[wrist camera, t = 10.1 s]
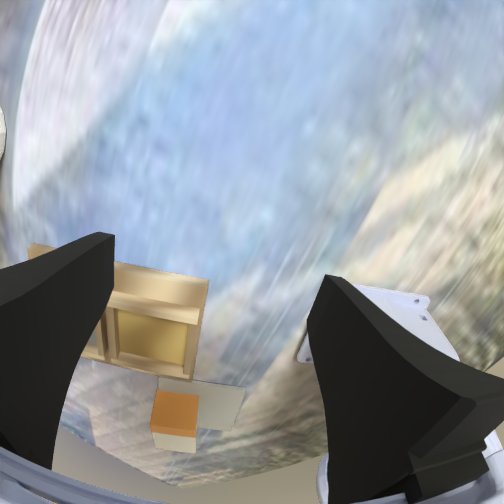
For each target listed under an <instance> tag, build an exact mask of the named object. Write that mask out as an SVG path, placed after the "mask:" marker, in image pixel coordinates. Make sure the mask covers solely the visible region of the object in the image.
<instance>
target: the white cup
mask: <svg viewBox="0 0 504 504" xmlns="http://www.w3.org/2000/svg"><path fill="white" fill-rule="evenodd" d="M5 138H6V126H5V120H4V113H3V111H2V109H1V107H0V160H1V157H2V155H3V153H4V147H5Z"/></svg>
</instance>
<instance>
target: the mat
mask: <svg viewBox="0 0 504 504" xmlns="http://www.w3.org/2000/svg"><path fill="white" fill-rule="evenodd" d="M158 391H164V392H172V393H179V394H188V395H197V396H199V411H198V427H199V428H206V429H214V430H222V431H231V429H232V427H233V424H234V421H235V419H236V416H237V414H238V411H239V409H240V406H241V403H242V401H243V398H244V395H245V393H246V387H237V386H229V385H222V384H215V383H208V382H201V381H195V380H192V382H191V381H185V380H179V379H174V378H169V377H163V376H159V377H158Z"/></svg>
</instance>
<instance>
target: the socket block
mask: <svg viewBox="0 0 504 504" xmlns="http://www.w3.org/2000/svg"><path fill="white" fill-rule="evenodd" d="M55 249H57V248H53V247H48V246H44V245H40V244H36V243H34V244H32V245H31V246H30V247H29V248H28V249H27V250H28V258H29V260H30V259H33V258H35V257H38V256H40V255H42V254H45V253H47V252H50V251H52V250H55ZM208 285H209V280H207V279H202V278H196V277H191V276H186V275H180V274H175V273H170V272H165V271H160V270H155V269H150V268H145V267H140V266H135V265H130V264H125V263H121V262H116V261H114V288H113V291H112V294H111V296H110V299H109V301H108V304H107V306H106V309H105V311H104V313H103V315H102V316H101V318H100V320H99V322H98V324H97V326H96V327H95V329H94V331H93V333H92V335H91V337H90V339H89V340H88V342H87V344H86V346H85V348H84V350H83V352H82V354H81V356H82V357H85V358H89V359H92V360H96V361H100V362H103V363H107V364H111V365H115V366H119V367H123V368H127V369H131V370H135V371H140V372H144V373H149V374H154V375H158V376H163V377H169V378H174V379H179V380H185V381H191V382H192V377H193V371H194V365H195V359H196V353H197V347H198V341H199V335H200V330H201V324H202V318H203V313H204V307H205V302H206V296H207V291H208Z"/></svg>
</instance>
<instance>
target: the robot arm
mask: <svg viewBox="0 0 504 504" xmlns="http://www.w3.org/2000/svg"><path fill="white" fill-rule="evenodd" d="M114 248H115V235H113V234H108V233H103V232H96V233H93V234H90V235H87V236H85V237H82V238H80V239H78V240H75V241H73V242H71V243H68V244H66V245H64V246H62V247H59V248H57V249H55V250H52V251H50V252H47V253H45V254H42V255H40V256H38V257H35V258H33V259H30V260H28V261H25V262H22V263H19V264H16V265H13V266H10V267H7V268H3V269H0V504H53V503H51V502H49V501H47V500H45V499H48V500H50V501H52V502H55V503H57V504H168V503H162V502H157V501H152V500H147V499H142V498H137V497H132V496H128V495H125V494H121V493H117V492H113V491H109V490H106V489H102V488H99V487H96V486H93V485H89V484H86V483H83V482H80V481H77V480H74V479H72V478H69V477H66V476H64V475H61V474H58V473H56V472H53V471H51V469H52V461H53V453H54V446H55V440H56V435H57V430H58V425H59V421H60V416H61V412H62V408H63V405H64V401H65V398H66V394H67V391H68V388H69V384H70V381H71V379H72V376H73V373H74V370H75V367H76V365H77V362H78V360H79V358H80V356H81V354H82V352H83V350H84V348H85V346H86V344H87V342H88V340H89V339H90V337H91V335H92V333H93V331H94V329H95V327H96V326H97V324H98V322H99V320H100V318H101V316H102V315H103V313H104V311H105V309H106V306H107V304H108V301H109V299H110V296H111V294H112V291H113V288H114ZM416 299H417V300H416ZM415 300H416V301H415ZM429 303H430V299H429V297H428V296H426V295H420V294H414V293H408V292H402V291H396V290H390V289H384V288H378V287H372V286H366V285H360V284H354V283H349V282H348V281H346V280H345V279H343V278H342V277H337V276H332V275H326V274H325V276H324V279H323V282H322V284H321V287H320V289H319V292H318V294H317V297H316V299H315V301H314V304H313V306H312V309H311V311H310V314H309V316H308V318H307V330H308V332H307V335H306V337H305V339H304V341H303V344H302V346H301V348H300V350H299V352H298V354H297V361H298V362H300V363H310V364H314V366H315V370H316V373H317V377H318V381H319V385H320V389H321V393H322V397H323V402H324V408H325V417H326V426H327V438H328V453H326V454H325V455H324V456H323V457H322V459H321V461H320V463H319V467H318V472H317V478H316V488H317V494H318V498H319V502H320V504H504V449H503V448H502V446H501V443H500V441H499V439H498V436H497V434H496V432H495V430H494V429H496V427H497V426H499V424H501V423H502V422H503V421H504V379H503V378H500V377H497V376H494V375H491V374H488V373H485V372H482V371H480V370H477V369H475V368H473V367H470V366H468V365H466V364H464V363H461V362H460V360H459V357H458V355H457V353H456V351H455V350H454V348H453V347H452V345H451V344H450V342H449V341H448V340H447V338H446V337H445V335H444V334H443V332H442V331H441V329H440V328H439V327H438V325H437V324H436V322H435V321H434V320H433V318H432V317H431V315H430V314H429V313H428V311H427V310H426V308H427V306H428V305H429ZM309 357H310V358H309ZM39 496H41V497H43V498H45V499H43V498H41V497H39Z"/></svg>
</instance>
